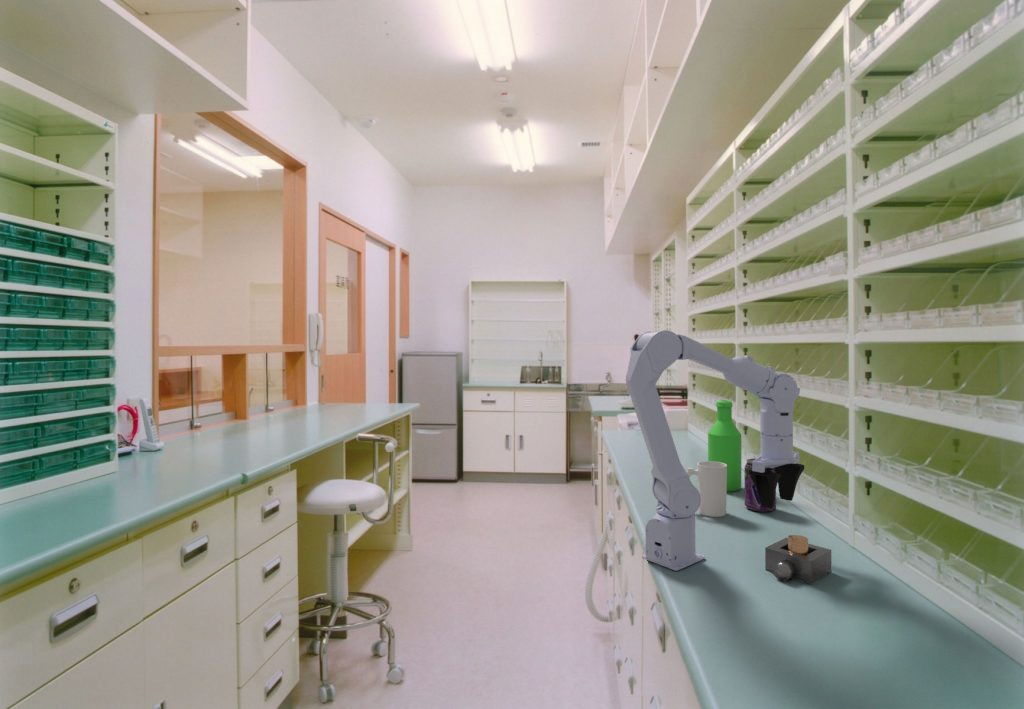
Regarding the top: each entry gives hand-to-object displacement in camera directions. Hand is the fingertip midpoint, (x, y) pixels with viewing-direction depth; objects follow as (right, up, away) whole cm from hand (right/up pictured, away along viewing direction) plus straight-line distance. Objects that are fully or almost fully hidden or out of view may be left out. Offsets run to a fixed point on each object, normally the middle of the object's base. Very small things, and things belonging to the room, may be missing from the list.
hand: (776, 503), depth 105 cm
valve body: (0, -10, -8) cm, 13 cm away
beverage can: (+10, -10, +28) cm, 31 cm away
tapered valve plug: (0, -10, -8) cm, 13 cm away
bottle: (+9, -9, +48) cm, 49 cm away
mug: (-5, -10, +26) cm, 28 cm away
